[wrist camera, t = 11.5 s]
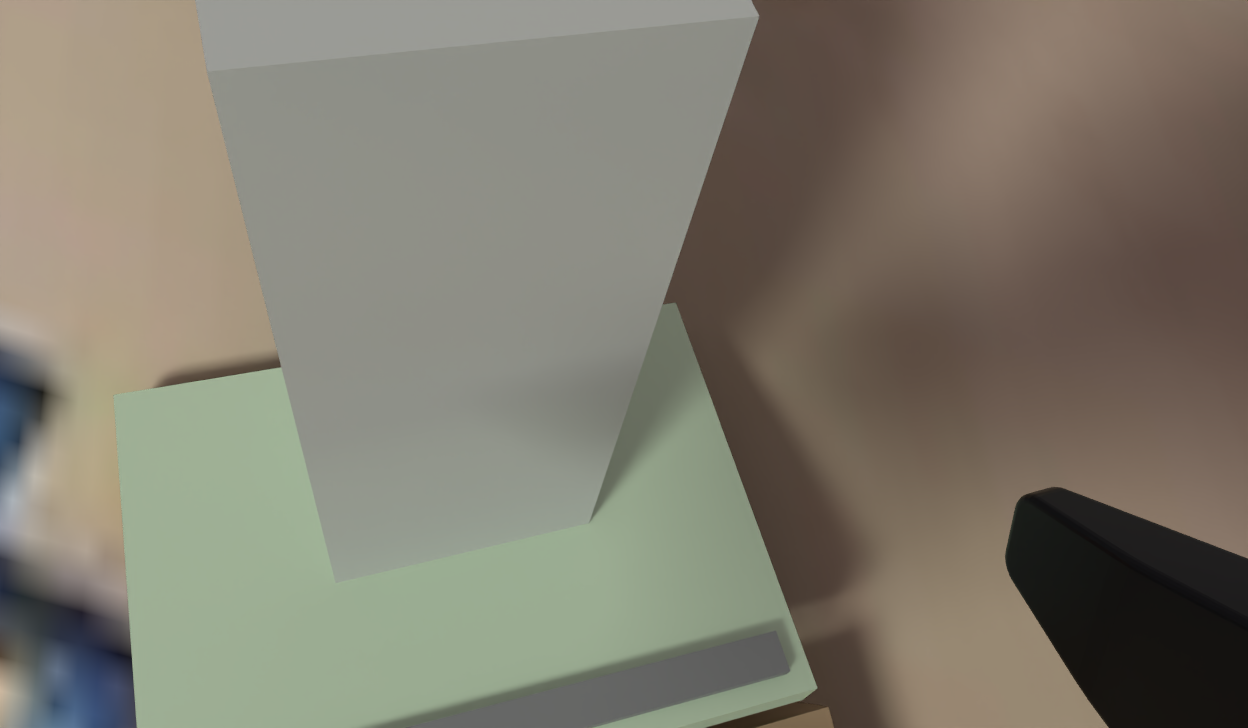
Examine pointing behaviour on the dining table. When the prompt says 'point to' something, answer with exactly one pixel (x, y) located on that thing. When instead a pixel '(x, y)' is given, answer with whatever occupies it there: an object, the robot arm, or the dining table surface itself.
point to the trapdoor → (446, 582)
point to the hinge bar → (784, 718)
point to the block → (465, 241)
